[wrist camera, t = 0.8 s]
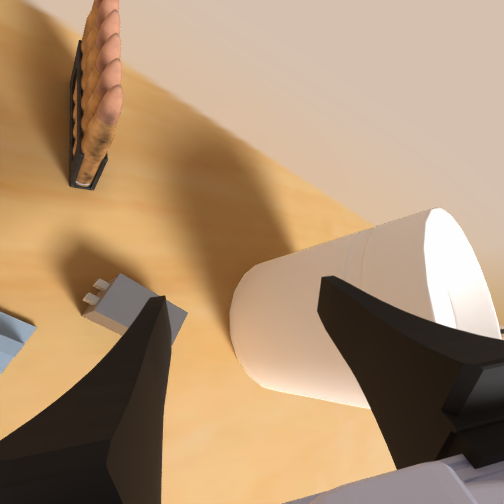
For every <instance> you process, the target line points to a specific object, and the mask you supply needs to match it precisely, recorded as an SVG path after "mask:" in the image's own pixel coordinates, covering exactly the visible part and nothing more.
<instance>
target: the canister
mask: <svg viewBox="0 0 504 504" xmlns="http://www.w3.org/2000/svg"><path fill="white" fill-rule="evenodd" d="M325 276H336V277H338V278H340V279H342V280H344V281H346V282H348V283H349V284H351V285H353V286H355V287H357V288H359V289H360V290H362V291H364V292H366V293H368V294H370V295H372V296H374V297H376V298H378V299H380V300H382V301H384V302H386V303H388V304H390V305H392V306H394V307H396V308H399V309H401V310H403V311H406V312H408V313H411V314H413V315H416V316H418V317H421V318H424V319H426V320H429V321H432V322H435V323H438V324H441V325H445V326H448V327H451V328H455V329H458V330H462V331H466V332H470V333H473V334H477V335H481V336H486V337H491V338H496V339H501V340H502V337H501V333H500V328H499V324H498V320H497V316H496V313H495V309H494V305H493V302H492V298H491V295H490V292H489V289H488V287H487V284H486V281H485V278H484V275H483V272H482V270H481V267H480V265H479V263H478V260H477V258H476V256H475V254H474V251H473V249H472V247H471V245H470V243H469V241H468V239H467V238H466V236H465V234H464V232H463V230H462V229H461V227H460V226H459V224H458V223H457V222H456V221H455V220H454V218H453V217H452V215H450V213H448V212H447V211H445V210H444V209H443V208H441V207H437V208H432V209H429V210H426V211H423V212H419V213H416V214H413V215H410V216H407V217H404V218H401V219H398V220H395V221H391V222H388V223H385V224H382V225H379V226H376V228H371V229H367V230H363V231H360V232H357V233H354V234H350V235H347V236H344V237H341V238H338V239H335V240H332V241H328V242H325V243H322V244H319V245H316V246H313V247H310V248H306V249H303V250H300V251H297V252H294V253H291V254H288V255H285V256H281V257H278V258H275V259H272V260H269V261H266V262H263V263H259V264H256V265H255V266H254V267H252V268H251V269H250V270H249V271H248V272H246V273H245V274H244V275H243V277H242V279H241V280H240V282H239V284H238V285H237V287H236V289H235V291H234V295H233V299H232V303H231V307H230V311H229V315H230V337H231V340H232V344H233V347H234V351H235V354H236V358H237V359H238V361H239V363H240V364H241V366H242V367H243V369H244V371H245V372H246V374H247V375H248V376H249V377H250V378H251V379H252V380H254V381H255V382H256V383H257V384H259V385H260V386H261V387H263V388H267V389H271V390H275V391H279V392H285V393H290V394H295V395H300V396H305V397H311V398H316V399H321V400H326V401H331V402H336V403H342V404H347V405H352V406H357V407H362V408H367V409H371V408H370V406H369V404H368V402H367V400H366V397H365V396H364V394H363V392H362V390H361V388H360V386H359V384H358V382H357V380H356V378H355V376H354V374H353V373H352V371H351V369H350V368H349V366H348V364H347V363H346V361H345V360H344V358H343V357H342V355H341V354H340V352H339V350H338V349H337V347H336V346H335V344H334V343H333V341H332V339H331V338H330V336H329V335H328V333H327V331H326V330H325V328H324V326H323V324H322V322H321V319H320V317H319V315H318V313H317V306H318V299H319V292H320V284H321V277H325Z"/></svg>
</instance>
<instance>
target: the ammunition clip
mask: <svg viewBox="0 0 504 504" xmlns="http://www.w3.org/2000/svg"><path fill="white" fill-rule="evenodd" d="M119 34H120V17H119V0H94V3H93V7H92V10H91V12H90V14H89V16H88V17H87V21H86V25H85V29H84V34H83V38H82V41H81V40H79V43H78V48H77V52H76V57H75V62H74V67H73V71H72V76H71V81H70V163H69V186H70V187H75V188H81V189H88V190H94V189H95V187H96V184H97V182H98V180H99V178H100V176H101V174H102V171H103V169H104V167H105V165H106V163H107V161H108V157H107V151H108V149H109V146H110V144H111V142H112V140H113V138H114V135H115V127H116V124H117V122H118V118H119V115H120V113H121V109H122V103H123V91H122V87H121V79H122V65H121V61H120V55H121V40H120V36H119Z"/></svg>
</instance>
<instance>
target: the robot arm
mask: <svg viewBox="0 0 504 504" xmlns="http://www.w3.org/2000/svg"><path fill="white" fill-rule="evenodd" d="M317 313H318V315H319V317H320V319H321V322H322V324H323V326H324V328H325V330H326V331H327V333H328V335H329V336H330V338H331V339H332V341H333V343H334V344H335V346H336V347H337V349H338V350H339V352H340V354H341V355H342V357H343V358H344V360H345V361H346V363H347V364H348V366H349V368H350V369H351V371H352V373H353V374H354V376H355V378H356V380H357V382H358V384H359V386H360V388H361V390H362V392H363V394H364V396H365V397H366V400H367V402H368V404H369V406H370V408H371V410H372V412H373V414H374V417H375V419H376V421H377V423H378V425H379V428H380V430H381V432H382V435H383V437H384V439H385V441H386V444H387V446H388V449H389V451H390V453H391V456H392V458H393V461H394V463H395V466H396V468H397V470H395V471H392V472H388V473H385V474H381V475H377V476H374V477H370V478H366V479H363V480H359V481H356V482H352V483H348V484H345V485H342V486H339V487H337V488H334V489H332V490H329V491H326V492H322V493H319V494H315V495H311V496H308V497H304V498H301V499H297V500H293V501H290V502H286V503H283V504H504V340H501V339H496V338H491V337H486V336H481V335H477V334H473V333H470V332H466V331H462V330H458V329H455V328H451V327H448V326H445V325H441V324H438V323H435V322H432V321H429V320H426V319H424V318H421V317H418V316H416V315H413V314H411V313H408V312H406V311H403V310H401V309H399V308H396V307H394V306H392V305H390V304H388V303H386V302H384V301H382V300H380V299H378V298H376V297H374V296H372V295H370V294H368V293H366V292H364V291H362V290H360V289H359V288H357V287H355V286H353V285H351V284H349V283H348V282H346V281H344V280H342V279H340V278H338V277H336V276H325V277H321V284H320V292H319V299H318V306H317ZM171 343H172V331H171V326H170V320H169V314H168V309H167V303H166V297H165V296H157V297H150V298H149V299H148V301H147V302H146V304H145V305H144V307H143V308H142V310H141V311H140V313H139V314H138V316H137V317H136V319H135V320H134V321H133V323H132V324H131V325H130V327H129V328H128V330H127V331H126V332H125V333H124V335H123V336H122V337H121V338H120V340H119V341H118V342H117V343H116V344H115V346H114V347H113V348H112V349H111V350H110V351H109V352H108V354H107V355H106V356H105V357H104V358H103V359H102V360H101V361H100V362H99V363H98V364H97V365H96V366H95V367H94V368H93V369H92V370H91V371H90V372H89V373H88V374H87V375H85V376H84V377H83V378H82V379H81V380H80V381H79V382H78V383H77V384H75V385H74V386H73V387H72V388H71V389H70V390H69V391H67V392H66V393H65V394H64V395H62V396H61V397H60V398H59V399H57V400H56V401H55V402H54V403H52V404H51V405H50V406H48V407H47V408H46V409H44V410H43V411H42V412H41V413H39V414H38V415H36V416H35V417H34V418H32V419H31V420H30V421H28V422H27V423H25V424H24V425H22V426H21V427H19V428H18V429H16V430H15V431H14V432H12V433H11V434H9V435H8V436H6V437H5V438H3V439H2V440H0V504H161V477H162V440H163V415H164V404H165V397H166V389H167V382H168V375H169V367H170V360H171Z"/></svg>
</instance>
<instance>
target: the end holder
mask: <svg viewBox="0 0 504 504" xmlns="http://www.w3.org/2000/svg"><path fill="white" fill-rule="evenodd" d="M36 328H37V327H35V326H32V325H30V324H28V323H25V322H23V321H21V320H19V319H16V318H14V317H12V316H9V315H7V314H5V313H3V312H0V374H1V373H2V372H3V370H4V369H5V368H6V366H7V365H8V364H9V363H10V361H11V360H12V359H13V358H14V357H15V356H16V355H17V354H18V352H19V351H20V350H21V348H22V347H23V346H24V345H25V342H26V341H27V340H28V339H29V337H30V336H31V335H32V333H33V332H34V331H35V330H36Z"/></svg>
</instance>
